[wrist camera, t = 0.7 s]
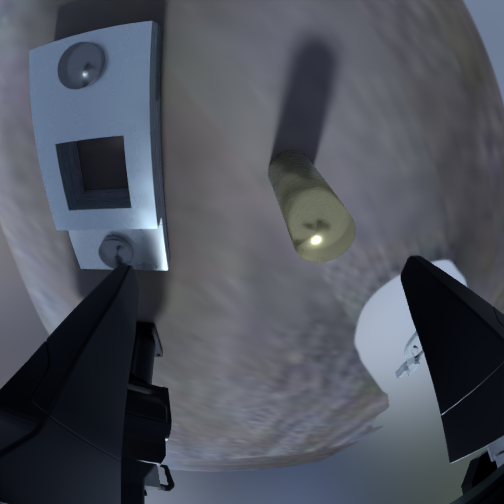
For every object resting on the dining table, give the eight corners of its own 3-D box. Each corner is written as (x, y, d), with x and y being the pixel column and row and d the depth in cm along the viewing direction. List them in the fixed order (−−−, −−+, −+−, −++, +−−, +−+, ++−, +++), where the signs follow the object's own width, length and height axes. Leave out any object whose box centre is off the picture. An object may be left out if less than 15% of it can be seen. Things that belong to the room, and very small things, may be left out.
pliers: (460, 326, 37) (422, 371, 46) (455, 320, 38) (419, 365, 47) (419, 338, 36) (383, 382, 45) (415, 330, 37) (381, 376, 47)
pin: (307, 192, 21) (345, 262, 15) (265, 190, 20) (288, 262, 14) (315, 152, 19) (363, 210, 13) (270, 149, 18) (299, 206, 12)
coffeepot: (117, 433, 59) (114, 490, 45) (128, 429, 55) (125, 492, 41) (166, 445, 66) (167, 498, 52) (181, 441, 62) (182, 499, 48)
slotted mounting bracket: (170, 258, 23) (164, 289, 21) (86, 257, 22) (72, 285, 19) (163, 26, 12) (149, 19, 9) (53, 48, 11) (23, 51, 8)
